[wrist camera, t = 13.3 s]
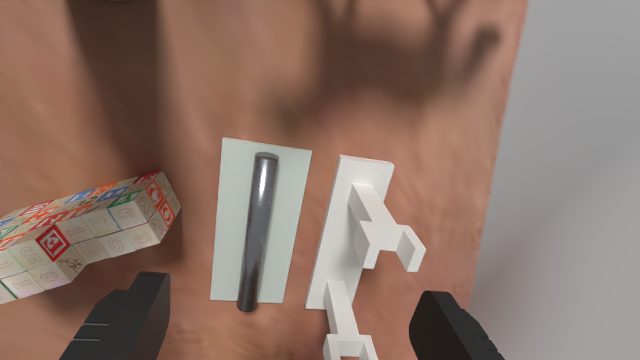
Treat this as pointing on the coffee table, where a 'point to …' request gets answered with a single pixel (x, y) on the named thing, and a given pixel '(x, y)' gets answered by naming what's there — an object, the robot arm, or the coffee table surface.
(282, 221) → the mat
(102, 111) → the coffee table surface
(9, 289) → the stack of blocks
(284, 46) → the coffee table surface
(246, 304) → the rail
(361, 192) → the rack
